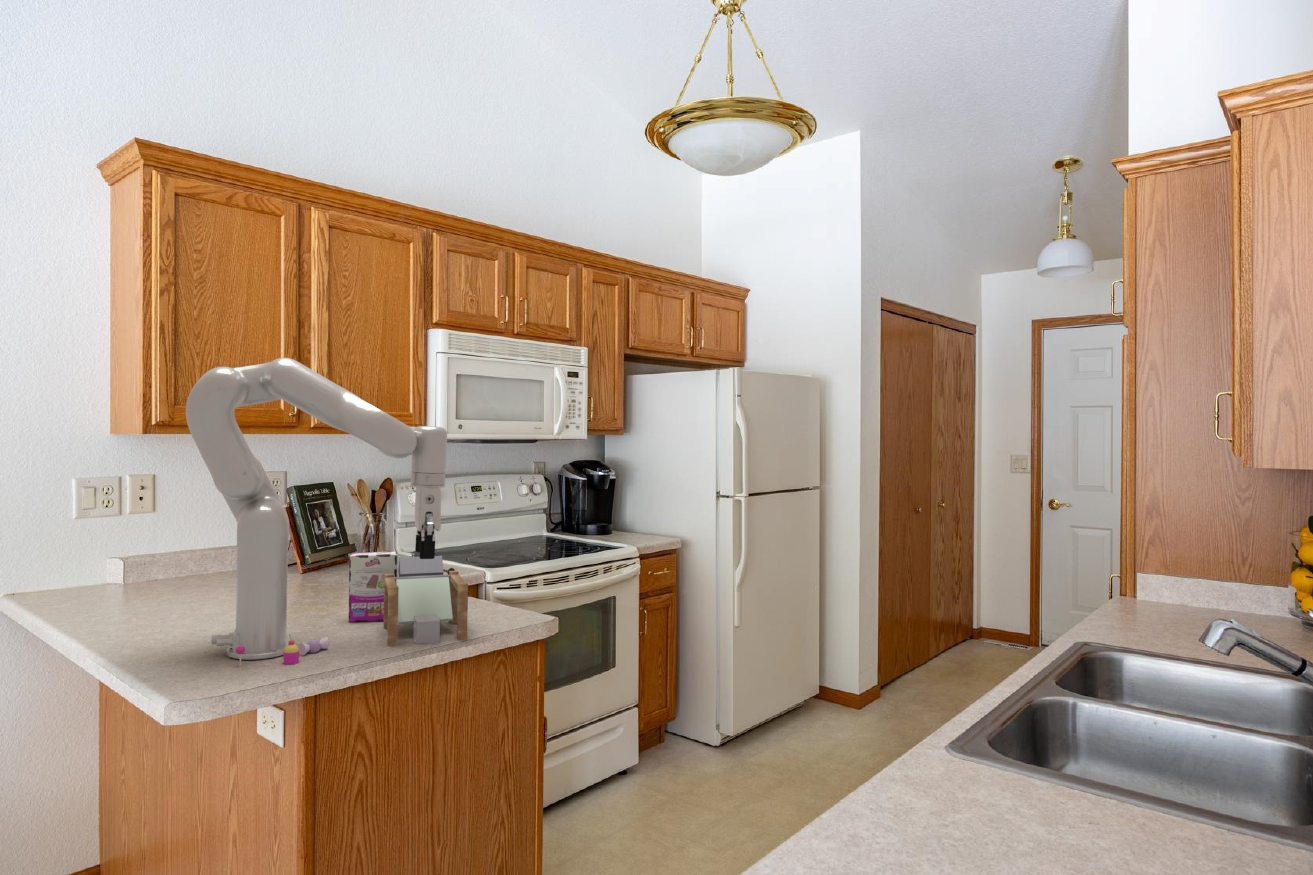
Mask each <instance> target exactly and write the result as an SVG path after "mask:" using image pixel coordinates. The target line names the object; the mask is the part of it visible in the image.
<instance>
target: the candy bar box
mask: <svg viewBox="0 0 1313 875" xmlns="http://www.w3.org/2000/svg"><path fill="white" fill-rule="evenodd" d="M398 555H399V552H398V551H375V552H374V551H373V552H371V551H370V552H351V553H350V555H349V558H348V561H349V562H348V569H349V570H348V623H367V622H369V623H370V622H384V574H394V579H395V577H398V567H399V559H398V558H399V557H398Z"/></svg>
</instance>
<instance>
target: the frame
mask: <svg viewBox="0 0 1313 875" xmlns="http://www.w3.org/2000/svg"><path fill="white" fill-rule="evenodd" d="M449 575H450V580H449V586H450V596H451V606H452V616H453V620H452V621H447V622H448V624H449V625H450V624H451V625H452V624H456V638H457V641H458V640H459V641H461V640H467V639H468V613H469V612H468V610H469V606H468V605H469V583H468V582H465V581H464V579H463V578H462V576H461V575H460V574H459V571H458V570H455V571H449ZM398 591H399V588H398V586H397V584H396V582H395V579H394V574H384V621H383V623H382V624H383V629H387V634H386V635H387V640H386V641H387V642H386V643H387V646H395V645H398V633H399V632H398V631H399V630H398V629H399V628H398V627H399V624H398Z"/></svg>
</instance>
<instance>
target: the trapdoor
mask: <svg viewBox="0 0 1313 875" xmlns="http://www.w3.org/2000/svg"><path fill="white" fill-rule="evenodd" d="M398 558H399V559H398V577H395V582H396V584H397V586H398V588H399V591H398V625H410V624H414V616H416V615H432V614H437V616H438V618H439V620H440V623H441V622H448V621H452V620H453V616H452V606H451V596H450V586H449V580H450V575H448V574H444V573H445V572H444V571H443V569H444V561H442V559H443V555H438V556H435V558H434V559H420V557H414V556H413V557H409V556H403V557H402V556H400V557H398Z"/></svg>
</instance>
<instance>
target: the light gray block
mask: <svg viewBox="0 0 1313 875" xmlns="http://www.w3.org/2000/svg"><path fill="white" fill-rule="evenodd" d="M440 627H441V622H440V620H439V618H438V616H437V614H432V615H416V616H414V623H413V639H414V642H415V645H422V644H423V645H424V644H434V643H436V644H437V643H440V639H441V638H440V635H441V634H440V632H441V631H440V630H441V628H440Z"/></svg>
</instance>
